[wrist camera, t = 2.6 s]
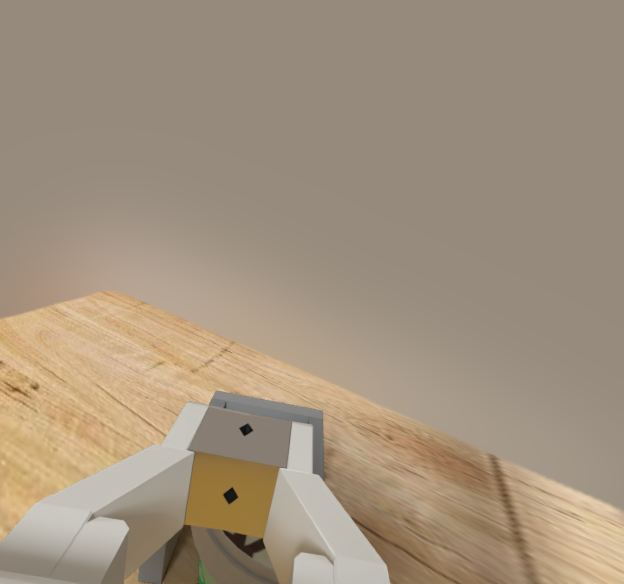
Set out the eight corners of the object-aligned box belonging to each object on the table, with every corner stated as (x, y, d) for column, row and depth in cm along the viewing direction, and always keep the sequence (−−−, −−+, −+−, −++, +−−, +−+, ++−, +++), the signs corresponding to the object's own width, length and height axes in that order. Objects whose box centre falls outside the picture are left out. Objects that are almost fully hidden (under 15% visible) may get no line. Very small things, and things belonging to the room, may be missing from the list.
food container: (186, 522, 29) (202, 414, 27) (263, 520, 31) (286, 418, 28) (160, 748, 18) (182, 602, 15) (284, 727, 20) (325, 590, 17)
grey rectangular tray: (316, 436, 43) (322, 410, 42) (315, 610, 25) (326, 572, 24) (211, 417, 42) (215, 390, 41) (138, 580, 25) (142, 540, 24)
